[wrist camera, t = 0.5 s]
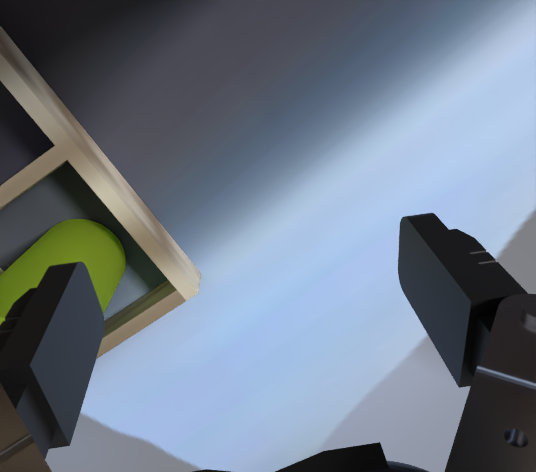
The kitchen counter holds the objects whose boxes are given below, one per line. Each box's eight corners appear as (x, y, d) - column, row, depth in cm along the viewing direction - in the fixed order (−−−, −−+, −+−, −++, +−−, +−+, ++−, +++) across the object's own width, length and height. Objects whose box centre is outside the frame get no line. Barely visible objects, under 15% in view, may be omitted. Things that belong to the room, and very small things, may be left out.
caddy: (-207, 80, 28) (-256, 83, 25) (-57, -46, 26) (-92, -58, 23) (72, 357, 36) (59, 382, 33) (200, 273, 34) (198, 292, 31)
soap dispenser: (72, 189, 31) (-161, 381, 13) (143, 264, 34) (34, 521, 15) (9, 240, 32) (-297, 490, 13) (82, 310, 34) (-94, 606, 16)
